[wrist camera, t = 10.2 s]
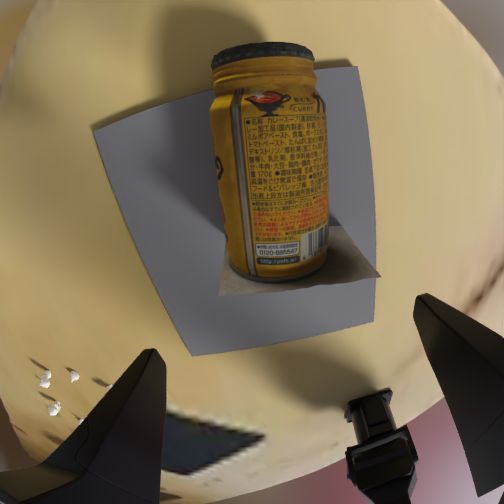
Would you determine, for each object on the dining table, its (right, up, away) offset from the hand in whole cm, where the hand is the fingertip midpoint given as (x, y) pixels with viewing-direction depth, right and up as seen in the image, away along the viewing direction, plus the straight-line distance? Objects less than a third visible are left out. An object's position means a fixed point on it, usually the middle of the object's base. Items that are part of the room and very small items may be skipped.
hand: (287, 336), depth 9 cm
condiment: (+1, +2, +9) cm, 9 cm away
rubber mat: (-1, +4, +13) cm, 13 cm away
